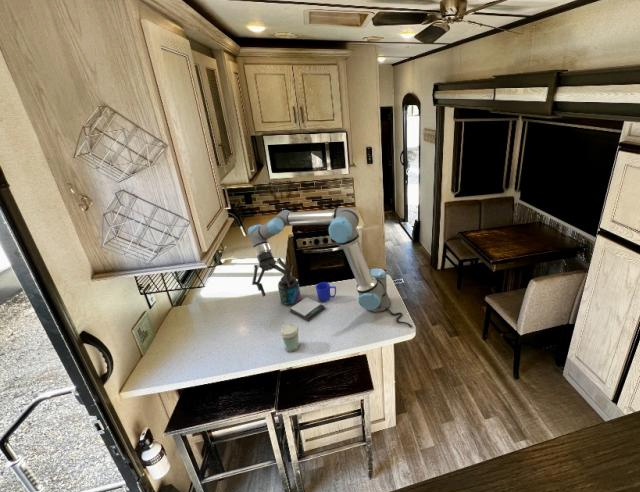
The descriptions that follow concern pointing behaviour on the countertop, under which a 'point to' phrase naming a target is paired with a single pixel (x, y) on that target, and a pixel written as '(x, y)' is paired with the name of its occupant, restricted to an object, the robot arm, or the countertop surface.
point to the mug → (324, 291)
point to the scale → (307, 309)
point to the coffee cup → (290, 337)
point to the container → (289, 291)
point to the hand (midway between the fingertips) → (277, 291)
